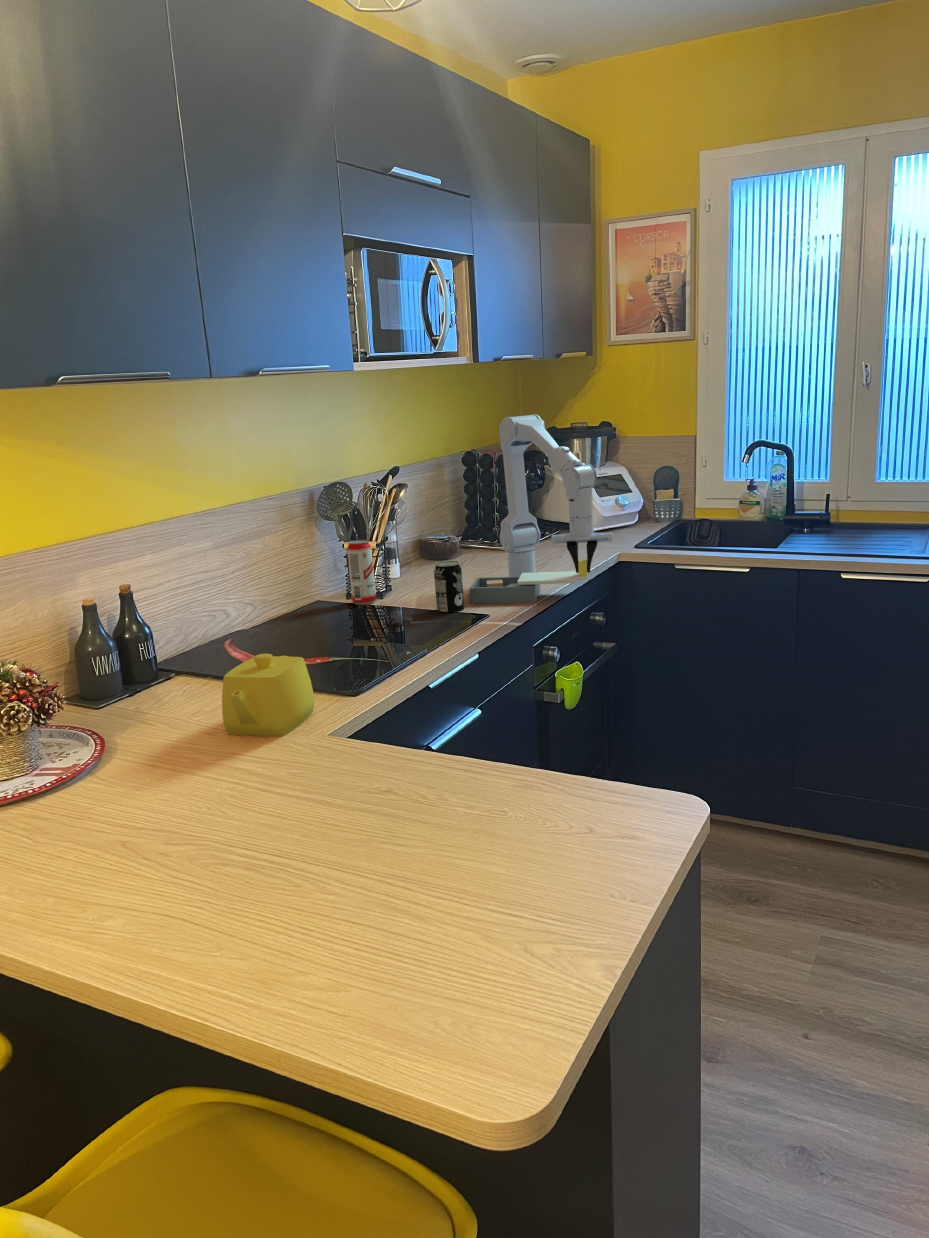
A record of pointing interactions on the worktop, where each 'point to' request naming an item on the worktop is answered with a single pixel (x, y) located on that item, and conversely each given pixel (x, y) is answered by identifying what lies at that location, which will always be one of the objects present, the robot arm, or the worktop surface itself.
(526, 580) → the lid
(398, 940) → the worktop surface
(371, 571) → the beer can
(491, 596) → the tub
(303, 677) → the teapot
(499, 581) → the tan block
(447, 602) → the beverage can
